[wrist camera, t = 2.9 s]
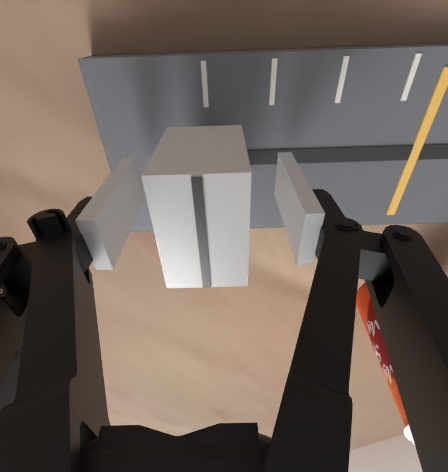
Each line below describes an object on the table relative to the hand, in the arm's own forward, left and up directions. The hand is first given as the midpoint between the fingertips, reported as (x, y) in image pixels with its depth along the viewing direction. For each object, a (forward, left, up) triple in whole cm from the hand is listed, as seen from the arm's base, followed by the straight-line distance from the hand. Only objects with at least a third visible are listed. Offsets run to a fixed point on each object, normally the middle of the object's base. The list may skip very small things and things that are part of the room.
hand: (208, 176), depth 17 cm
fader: (0, 0, -2) cm, 2 cm away
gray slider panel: (+8, 0, -5) cm, 9 cm away
